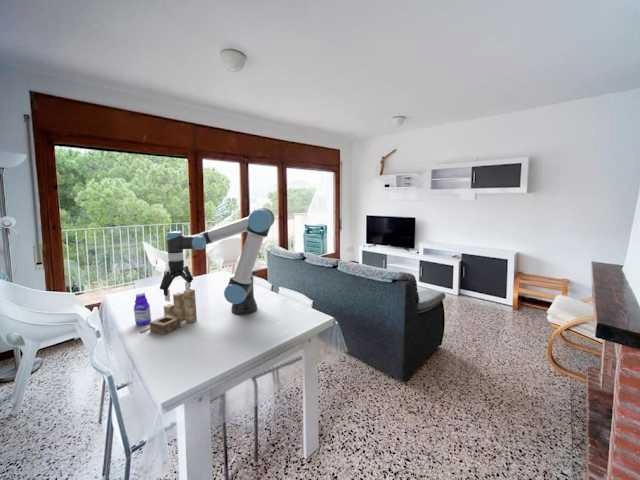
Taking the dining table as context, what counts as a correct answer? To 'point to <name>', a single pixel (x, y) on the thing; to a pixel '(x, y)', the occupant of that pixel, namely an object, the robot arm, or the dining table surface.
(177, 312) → the peg medium
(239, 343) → the dining table surface
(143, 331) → the strip
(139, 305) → the bottle
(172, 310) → the peg short
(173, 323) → the hole block
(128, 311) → the dining table surface
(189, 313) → the peg long
